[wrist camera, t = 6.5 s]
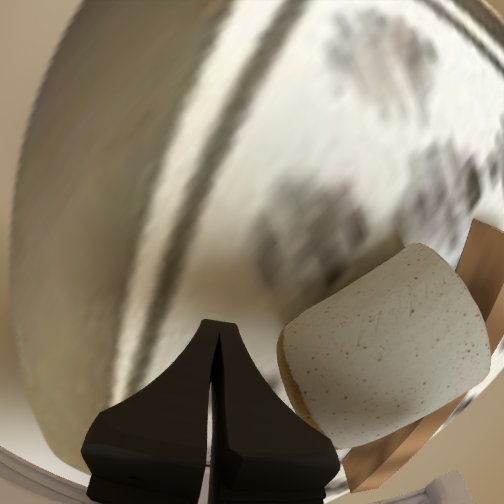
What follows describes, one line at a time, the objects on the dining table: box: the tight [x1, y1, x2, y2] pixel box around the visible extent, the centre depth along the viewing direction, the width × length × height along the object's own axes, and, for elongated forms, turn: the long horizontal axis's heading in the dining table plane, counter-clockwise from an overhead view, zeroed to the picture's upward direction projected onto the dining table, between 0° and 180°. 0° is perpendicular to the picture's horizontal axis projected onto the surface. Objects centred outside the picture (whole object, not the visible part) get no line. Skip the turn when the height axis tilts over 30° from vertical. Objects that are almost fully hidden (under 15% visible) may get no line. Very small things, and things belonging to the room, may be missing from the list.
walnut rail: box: [342, 219, 504, 493], centre depth 16 cm, size 24×3×4 cm, turn 169°
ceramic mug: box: [277, 243, 491, 450], centre depth 12 cm, size 11×8×8 cm
